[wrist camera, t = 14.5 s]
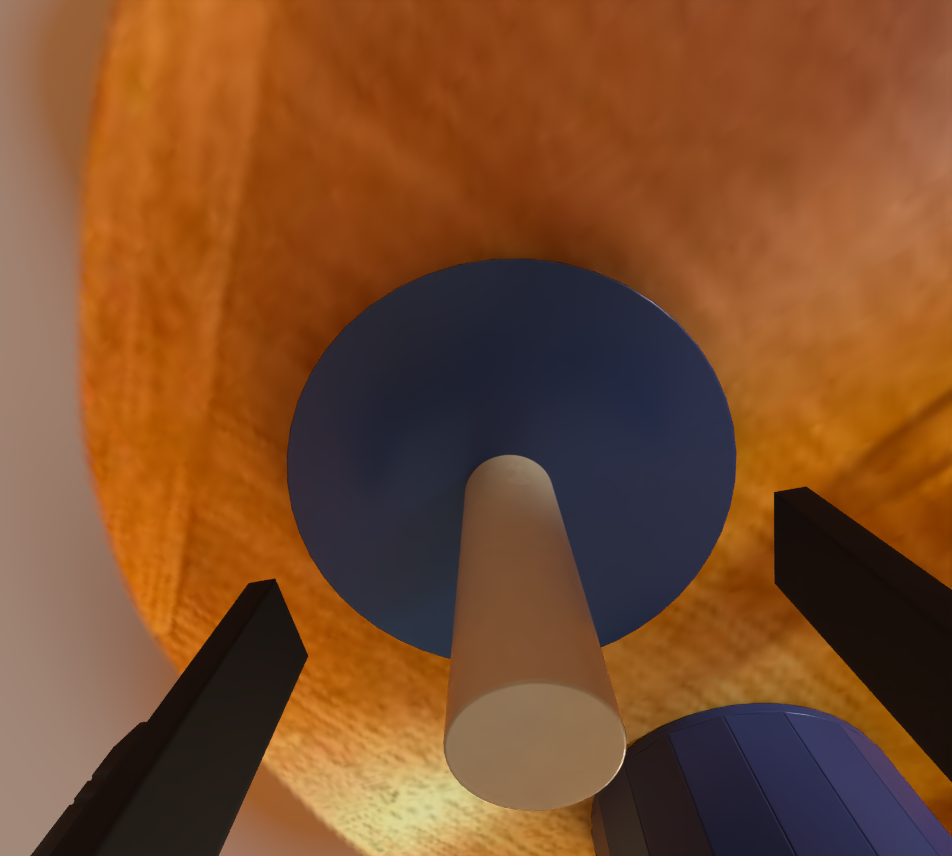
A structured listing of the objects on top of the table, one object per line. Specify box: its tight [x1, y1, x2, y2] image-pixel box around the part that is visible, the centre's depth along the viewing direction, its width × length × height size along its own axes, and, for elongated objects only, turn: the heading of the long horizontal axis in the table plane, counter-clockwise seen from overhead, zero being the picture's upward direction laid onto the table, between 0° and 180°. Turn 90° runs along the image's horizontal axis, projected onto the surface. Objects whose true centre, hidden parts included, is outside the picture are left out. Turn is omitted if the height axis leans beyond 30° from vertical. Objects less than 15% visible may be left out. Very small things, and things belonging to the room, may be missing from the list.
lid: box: [287, 258, 736, 811], centre depth 13 cm, size 16×16×11 cm
